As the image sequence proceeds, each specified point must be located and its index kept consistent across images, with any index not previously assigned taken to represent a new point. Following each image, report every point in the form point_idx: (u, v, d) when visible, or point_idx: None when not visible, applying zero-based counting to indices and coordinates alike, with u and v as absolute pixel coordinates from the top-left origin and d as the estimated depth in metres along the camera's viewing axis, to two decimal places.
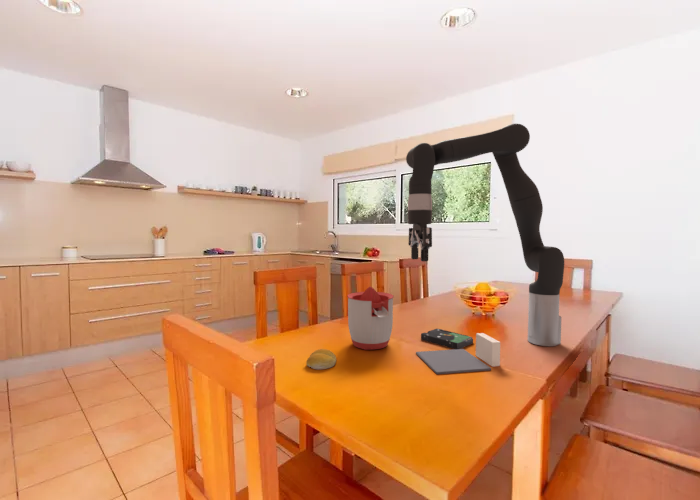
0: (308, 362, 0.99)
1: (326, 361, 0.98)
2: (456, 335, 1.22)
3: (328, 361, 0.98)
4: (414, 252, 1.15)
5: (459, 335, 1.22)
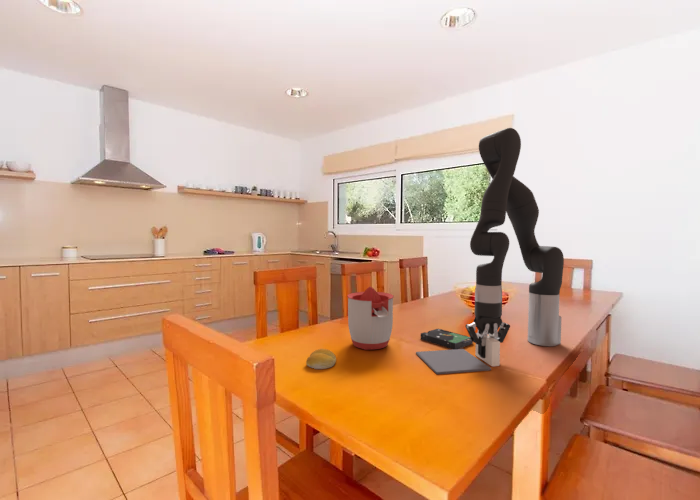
0: (308, 362, 0.99)
1: (326, 361, 0.98)
2: (455, 335, 1.22)
3: (328, 361, 0.98)
4: None
5: (459, 335, 1.22)
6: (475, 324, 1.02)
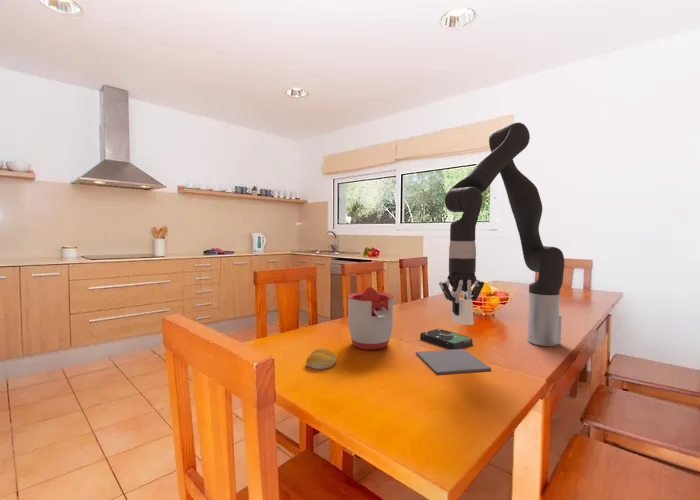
0: (308, 362, 0.99)
1: (326, 361, 0.98)
2: (455, 336, 1.22)
3: (328, 361, 0.99)
4: None
5: (459, 336, 1.22)
6: (449, 281, 1.01)
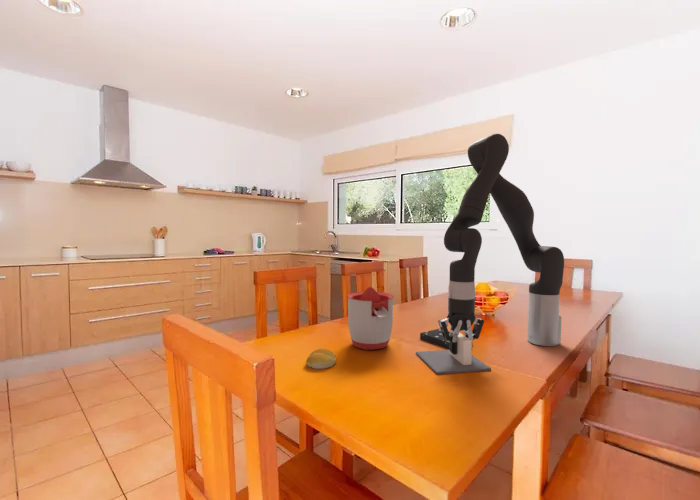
0: (308, 362, 0.99)
1: (326, 361, 0.98)
2: None
3: (327, 361, 0.99)
4: None
5: None
6: (448, 320, 1.02)
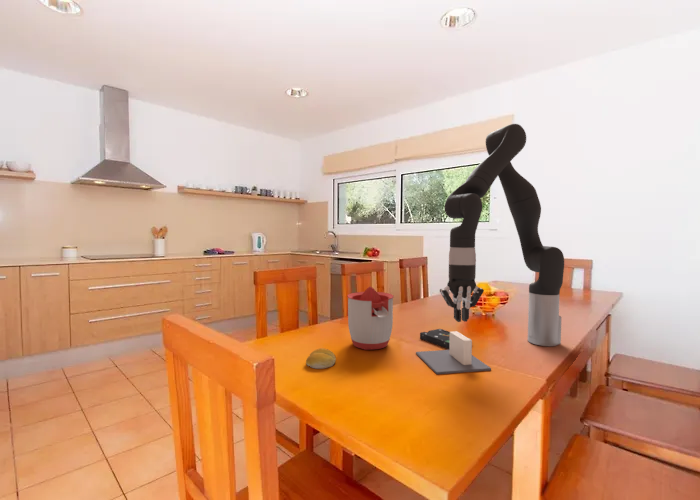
0: (308, 362, 0.99)
1: (326, 361, 0.98)
2: None
3: (327, 361, 0.99)
4: None
5: None
6: (449, 288, 1.01)
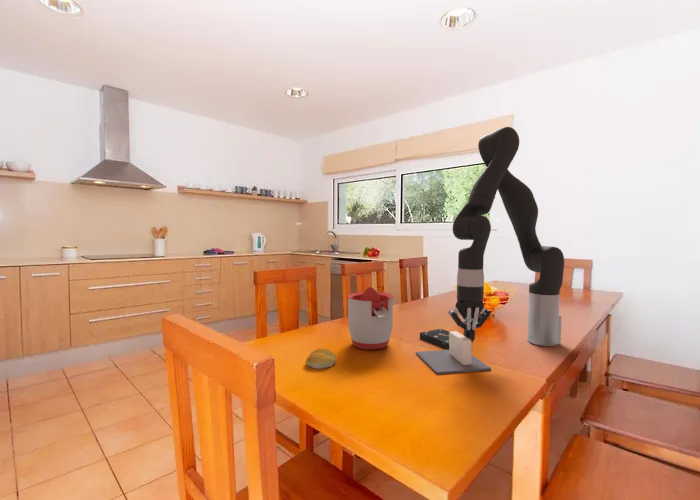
0: (308, 361, 0.99)
1: (325, 361, 0.99)
2: None
3: (327, 360, 0.99)
4: None
5: None
6: (457, 309, 1.02)
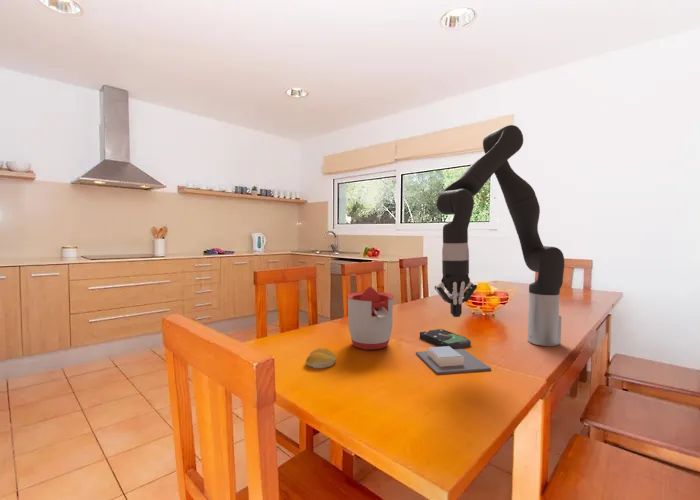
0: (308, 361, 1.00)
1: (325, 360, 0.99)
2: (454, 336, 1.21)
3: (327, 360, 0.99)
4: None
5: (457, 336, 1.21)
6: (443, 284, 1.02)
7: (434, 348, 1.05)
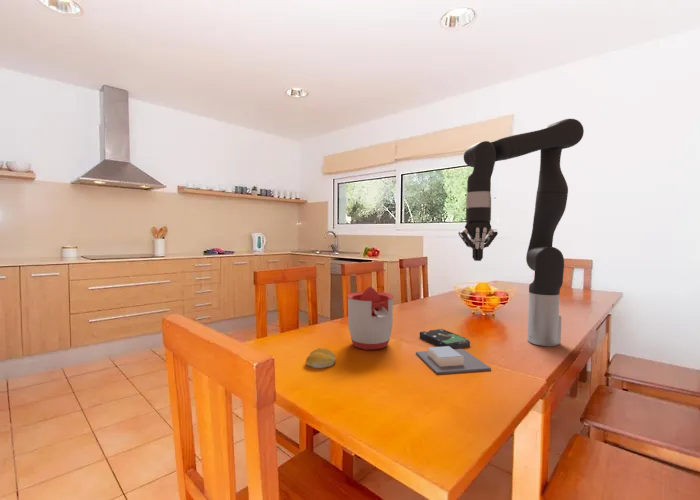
0: (308, 361, 1.00)
1: (325, 360, 0.99)
2: (453, 336, 1.21)
3: (327, 360, 0.99)
4: None
5: (457, 337, 1.20)
6: (466, 229, 1.11)
7: (434, 348, 1.05)
